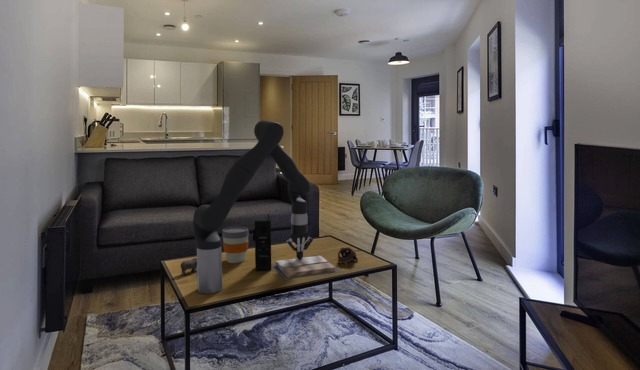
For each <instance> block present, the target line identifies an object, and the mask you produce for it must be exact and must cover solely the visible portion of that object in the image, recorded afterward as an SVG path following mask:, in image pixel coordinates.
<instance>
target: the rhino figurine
mask: <svg viewBox="0 0 640 370" xmlns="http://www.w3.org/2000/svg"><path fill="white" fill-rule="evenodd" d="M180 269H181V276H182V277H185V276H186V275H187V274H186V271H187V270H191V272H193V273H197V257H194V258H192V259H187V260H183V261H182V262H181V263H180Z"/></svg>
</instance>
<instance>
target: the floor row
mask: <svg viewBox="0 0 640 370" xmlns="http://www.w3.org/2000/svg"><path fill="white" fill-rule="evenodd" d="M335 268H336V266H334V265H333V264H332V263H330V262H328V263H321V264H313V265H305V266H298V267H290V268H283V273H284V274H285V275H286V276H287V277H295V276H302V275H310V274H317V273H324V272H332V271H335Z"/></svg>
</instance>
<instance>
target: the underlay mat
mask: <svg viewBox="0 0 640 370" xmlns="http://www.w3.org/2000/svg"><path fill="white" fill-rule="evenodd" d="M271 268H273V269H274V271H276V272H277V274H279V275H280V276H281V277H282V279H283V280H284V281H285V280H292V279H300V278H301V279H302V278H307V277H315V276H323V275H327V274H335V273H337V274H338V273H342V271H341V270H339V269H338V268H336V267H335V271H332V272H324V273H317V274H310V275H302V276H295V277H287V276H286V275H285V274H284V273H283V271H281V270H280V269H279V268H278V266H277V265H276V263H271Z"/></svg>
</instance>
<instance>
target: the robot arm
mask: <svg viewBox="0 0 640 370" xmlns="http://www.w3.org/2000/svg"><path fill="white" fill-rule="evenodd" d="M284 132H285V131H284V126H283V125H282V124H281V123H279V122H276V121H272V120H260V121H258V122H256V124H255V126H254V130H253V134H254V137H255V138H256V139H257V143H256V144H255V145H254V146H253V147H252V148H251V149H249V150H248V151H247V152H244V154H242V155H240V156H239V157H237V159H236V160H235V161H234V162H233V164H231V166H230V168H229V169H228V170H227V172H226V174H225V176H224V178H223V182H222V184H221V185H222V186H221V189H220V191H219V193H218V194H217V196H216V197H215V199H214V200H213V201H212V203H211V204H202V205H200V206H198V207H197V208H196V209H195V210H194V213H193V221H192V223H193V224H192V225H193V234H194V240H195V243H196V244H195V245H196V258H197V268H196V271H197V272H196V282H197V283H196V284H197V285H196V287H197V291H198V294H205V295H207V294H215V293H219V292H221V291H222V290H223V262H222V261H223V259H222V256H223V255H222V239H221V237H220V235H219V233H218V229H220V228H221V227H222V225H223V224H224V222H225V220H226V219H227V217H228V214H229V213H230V211H231V210H232V207H233V206H234V204H235V203H236V202H237V200H238V199H239V198H240V196H241V195H242V193H243V191H244V190H245V189H246V188H247V186H248V185H249V183H250V182H251V180H252V179H253V177H254V176H255V174H256V173H257V172H258V170H259V169H260V167H261V166H262V165H263V163H264V162H265V161H266V159H267V157H268V156H270V157H271V158H272V159H273V161H274V162H275V164H276V166H277V167H278V169H279V171H280V172H281V174H282V176H283V178H284V179H285V180H286V181H288V183H287V193H288V196H289V200H290V204H291V214H290V215H291V216H290V223H291V225H290V228H291V230H290V231H291V234H290V238H289V239H287V240H286V241H285V242H286V244H287V245H289V247H290V248H291V249H292V250H293V251H295V252H296V253H295V254H296V255H295V257H296V258H298V259H302V258H304V251H306V250H308V248H309V246H311V244H312V243H313V241H314V238H312V237H310V235H309V234H308V232H309V231H308V229H309V228H308V225H309V224H308V219H309V217H308V203H307V201H306V200H305V199H303V198H302V197H301V196H307V195H308V194H309V193H310V191H311V183H310V181H309V180H308V179H307V177H306V176H305V175H304V174H303V173H302V172H301V171H300V170H299V168H298V167H297V165H296V162H295V161H294V160H293V158H292V157H291V156H290V155H289V154H288V153H287V152H286V151H285V150H284V148H283V147H282V146H281V145H280V143H281V141H282V139H283V137H284V134H285V133H284ZM293 243H294V245H293Z"/></svg>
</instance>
